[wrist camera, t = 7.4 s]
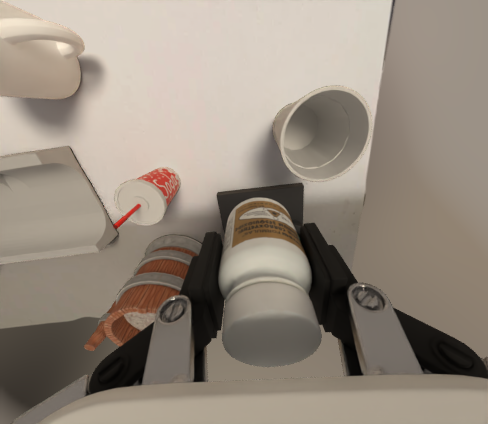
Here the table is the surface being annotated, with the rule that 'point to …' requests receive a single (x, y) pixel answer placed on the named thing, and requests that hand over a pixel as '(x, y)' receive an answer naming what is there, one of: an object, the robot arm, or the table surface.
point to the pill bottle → (266, 287)
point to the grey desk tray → (49, 208)
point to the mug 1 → (37, 56)
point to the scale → (283, 194)
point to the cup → (323, 133)
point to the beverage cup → (146, 196)
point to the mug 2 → (147, 289)
